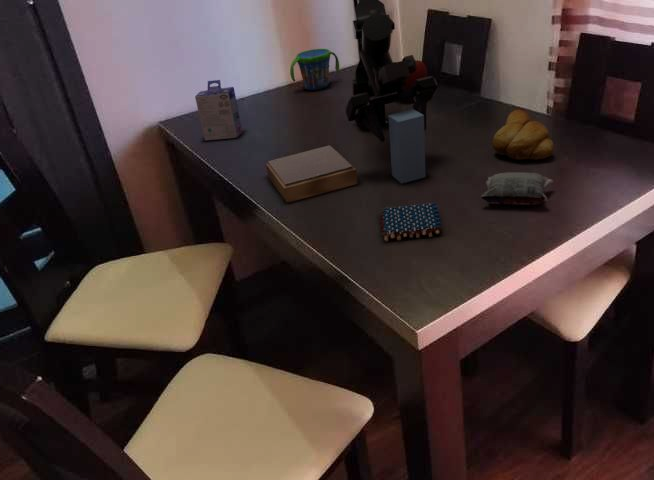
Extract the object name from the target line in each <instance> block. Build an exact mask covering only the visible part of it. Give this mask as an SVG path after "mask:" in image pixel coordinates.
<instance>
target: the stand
mask: <svg viewBox="0 0 654 480" xmlns="http://www.w3.org/2000/svg"><path fill="white" fill-rule="evenodd" d="M265 168H266V173H267V178H268V179H269V181H270V182H271V183H272V184H273V186H274V187H275V189H276V191H277V192H278V194H280V196H281V197H282V198H283V201H285V203H286V204H288V203H293V202H296V201H300V200H304V199H307V198H310V197H314V196H318V195H321V194H326V193H329V192H333V191H336V190H340V189H344V188H348V187H351V186H355V185H358V176H357V168H355V167H354V166H353V164H351V163H350V162H349V161H348V160H347V159H346V158H345V157H344V156H342V154H340V153H339V151H337V150H336V149H335V148H334V147H332V145H325V146H322V147H318V148H314V149H310V150H306V151H303V152H298V153H295V154H291V155H287V156H283V157H279V158H276V159H272V160H268V161H267V163H265Z"/></svg>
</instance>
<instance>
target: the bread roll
mask: <svg viewBox="0 0 654 480" xmlns="http://www.w3.org/2000/svg"><path fill="white" fill-rule="evenodd" d="M492 140H493V142H492V147H493V150H494V151H495V152H496V154H498V155H504V156H507V157H508V158H511V159H513V160H526V159H528V160H533V161H534V160H535V161H537V160H543V159H546V158H549V157H550V156H551V155H552V154H553V153H554V149H555V148H554V142H553V140H552V139H550V132H549V131H548V128H547V127H546V125H544V124H543V123H542V122H540V121H538V120H537V121H536V120H532V118H531V116H530V115H529V113H528V112H527V111H526V110H524V109H521V108H520V109H514V110H513V111H511V112H510V113H509V114H508V116H507V119H506V121H505V125H503V126H502V127H501V128H500V129H499V130H497V131H496V133H495V134H494V136H493V139H492Z"/></svg>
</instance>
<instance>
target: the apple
mask: <svg viewBox="0 0 654 480" xmlns="http://www.w3.org/2000/svg"><path fill="white" fill-rule="evenodd" d="M415 61H416V66H417V70H416V71H415V72H414V73H411V74H410V77H409V78H408V77H407V78H406V79H405V80H406V84H405V86H402V88H403V90H404V89H408V88H412V86H413V84H414V82H415V80H416V79H420V78H424V77H428V69H427V66H426V64H425V63H424V62H423V61H421V60H419V59H417V60H416V59H415ZM403 101H405V102H409V101H410V102H412V101H411V99H410V98H408V99H404V100H403Z"/></svg>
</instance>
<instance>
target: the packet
mask: <svg viewBox="0 0 654 480" xmlns="http://www.w3.org/2000/svg"><path fill="white" fill-rule="evenodd" d="M387 117H388V131H389V133H388V134H389V147H390V148H389V149H390V162H391V165H390V166H391V176H392V177H393V178H394V179H395V180H396V181H398V182H399V183H400V184H406V183H410V182H413V181H416V180H420V179H424V178H426V174H427V173H426V141H425V139H426V137H425V131H424V115H422V114H421V113H419V112H417V111H416V110H414V109H413V108H412V109H408V110H404V111H400V112H396V113H392V114H388V116H387Z"/></svg>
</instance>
